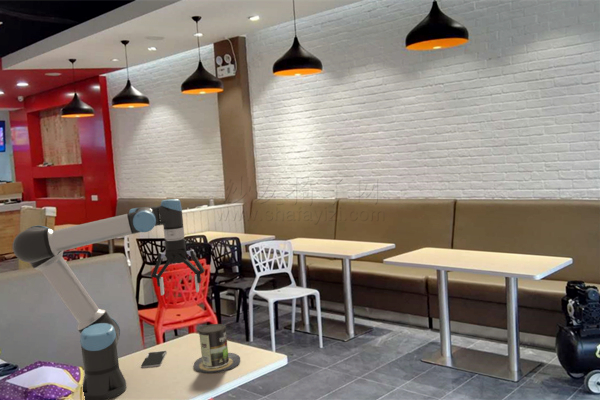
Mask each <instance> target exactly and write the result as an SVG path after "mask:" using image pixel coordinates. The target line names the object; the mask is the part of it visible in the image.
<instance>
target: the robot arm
mask: <svg viewBox="0 0 600 400" xmlns="http://www.w3.org/2000/svg"><path fill="white" fill-rule="evenodd" d="M156 226H157V227H158V226H163V237H164V240H165V241H164V246H165V252H162V251H161V252H159V253H157V260H156V262H155V265H154V267H153V270H152V273H151V278H154V279H156V284H157V285H156V286H157V287H159V289H160V296H164V295H165V285H164V277H163V276H162V275H163V274H164V273H165V271H166V270H167V268H168V267H169V265H170V264H176V263H177V264H181V263H183V264H185V265H186V266H187V267H188V268H189V269H190V270H191V271H192V272H193V273H194V283H195V292H196V293H199V291H200V285H199V284H201V282H202V278H201V275H202V274H203V273H204V272H205V271H206V269H205V268H204V266H203V265H202V263H201V262H200V260H199V258H198V257H197V255H196V252H195V249H191V250H187V249H186V248H187V247H186V239H185V228H184V217H183V209H182V203H181V200H180V199H178V198H171V199H162V200H161V202H160V205H157V206H155V205H154V206H145V207H142V206H141V207H135V208H134V207H133V208H131V209H129V211H128V213H125V214H121V215H116V216H112V217H107V218H104V219H99V220H94V221H90V222H85V223H81V224H76V225H72V226H69V227H64V228H60V229H56V230H53V229H52V228H49V227H47V226H45V225H44V226H43V225H33V226H30V227H28V228H26V229H25V230H23V231H21V232H20V233H19V232H18V234H17V235H16V236H15V238H14V239H13V242H12V251H13V254H14V256H15V257H16V258H17V259H18V260H20V261H22V262H24V263H29V264H30V266H32V268H33V269H34V270H37V271H40V272H41V273H42V274H43V276H44V277H45V278H46V280H47V281H48V282H49V284H50V285H51V287H52V288H53V290H54V291H55V292H56V294H57V295H58V296H59V298H60V299H61V301H62V302H63V303H64V305H65V306H66V308H67V310H69V311H70V313H71V314H72V316H73V317H74V319H75V320H76V322H77V323H78V325H77V330H78V332H79V333H80V334H79V335H80V338H79V343H80V347H81V354H82V355H81V356H82V363H83V372H84V377H83V382H82V385H83V392H84V396H85V400H109V399H113V398H115V397H117V396H120V395H121V394H123V393H124V392H125V391H126V390H127V380H126V379H125V376H124V374H123V373H122V371H121V369H120V364H119V354H118V344H119V339H120V336H121V329H120V326H119V324H118V322H117V321H116V320H115V319H114V318H113V317H112V316H110V315H109V313H108V312H107V311H106V310H105V309H100V308H99V307H98V305H97V304H96V302H95V301H94V300H93V298H92V297H91V296H90V294H89V293H88V291H87V290H86V288H85V287H84V285H83V284H82V283H81V282H80V280H79V279H78V277H77V275H76V274H75V273H74V270H72V268H71V267H70V265H68V263H67V261H66V260H65V259H64V257H63V254H64V251H69V250H72V249H77V248H81V247H85V246H88V245H93V244H97V243H102V242H105V241H109V240H112V239H113V240H114V239H117V238H121V237H126V236H130V235H133V234H140V233H147V232H151V231H152V230H153V229H154V227H156ZM187 255H188V256H189V257H191V259H192V260H193V261H192V262H194V264H195V265H194V264H193V263H192V262H191V261H190V260H189V259H188V258H187ZM164 258H166V259H167V261H166V262H165V264H164V265H163V267H162V268H161V269H160V270H159V268H160V265H161V263H162V260H163V259H164ZM158 270H159V271H158Z"/></svg>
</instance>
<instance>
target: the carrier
mask: <svg viewBox="0 0 600 400" xmlns="http://www.w3.org/2000/svg"><path fill="white" fill-rule="evenodd" d="M228 357H229V363H228V364H227V365H225V366H223V367H220V368H213V369H209V368H205V367H203V362H202V356H201V357H199V358H198V359H196V360H195V361H194V362H193V368H194V370H195V371H196V372H199V373H203V374H204V373H205V374H217V373H222V372H226V371H230V370H232V369H234V368H235V367H237V366H238V365H240V363H241V356H240V355H238V354H237V353H233V352H228Z"/></svg>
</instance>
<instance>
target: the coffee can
mask: <svg viewBox="0 0 600 400" xmlns="http://www.w3.org/2000/svg"><path fill="white" fill-rule="evenodd" d="M226 328H227V326H226V325H225V324H223V323H213V324H207V325H203V326H201V327H200V328H199V329H198V335H199V343H200V344H199V345H200V351H201V357H202V362H203V367H205V368H209V369H213V368H220V367H223V366H225V365H227V364H228V363H229V357H228V353H229V351H228V340H227V339H228V338H227V331H226V330H227V329H226Z"/></svg>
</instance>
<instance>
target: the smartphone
mask: <svg viewBox="0 0 600 400" xmlns="http://www.w3.org/2000/svg"><path fill="white" fill-rule="evenodd" d="M167 353H168V352H167V350H159V351H149V352H148V353H147V354H146V356H145V358H144V360H143V362H142V364H141V367H140V368H142V369H144V368H153V367H160V366H162V364H163V361H164V360H165V357H166V355H167Z"/></svg>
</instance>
